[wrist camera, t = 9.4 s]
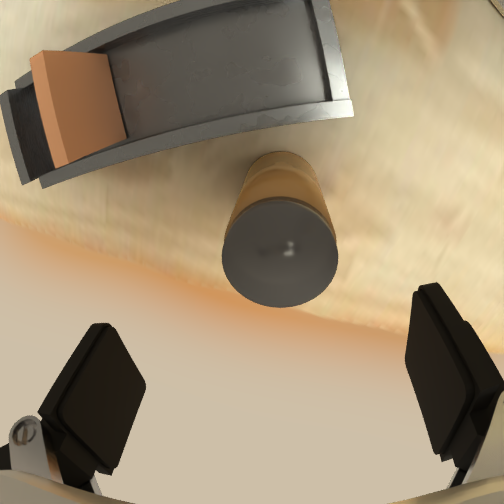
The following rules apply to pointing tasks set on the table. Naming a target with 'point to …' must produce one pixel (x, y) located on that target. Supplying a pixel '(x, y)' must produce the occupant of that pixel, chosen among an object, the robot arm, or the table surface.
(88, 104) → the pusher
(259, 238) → the jar
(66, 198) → the table surface
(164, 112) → the tray
